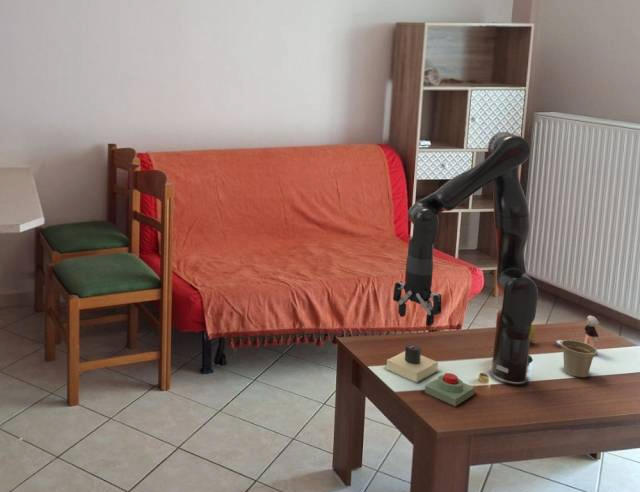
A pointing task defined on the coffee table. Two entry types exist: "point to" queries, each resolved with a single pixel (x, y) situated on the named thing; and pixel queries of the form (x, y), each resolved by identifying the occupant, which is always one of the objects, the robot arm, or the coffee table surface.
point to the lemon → (532, 333)
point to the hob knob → (412, 353)
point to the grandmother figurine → (591, 331)
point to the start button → (450, 378)
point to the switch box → (449, 391)
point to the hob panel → (412, 367)
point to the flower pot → (577, 357)
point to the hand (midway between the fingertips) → (415, 320)
